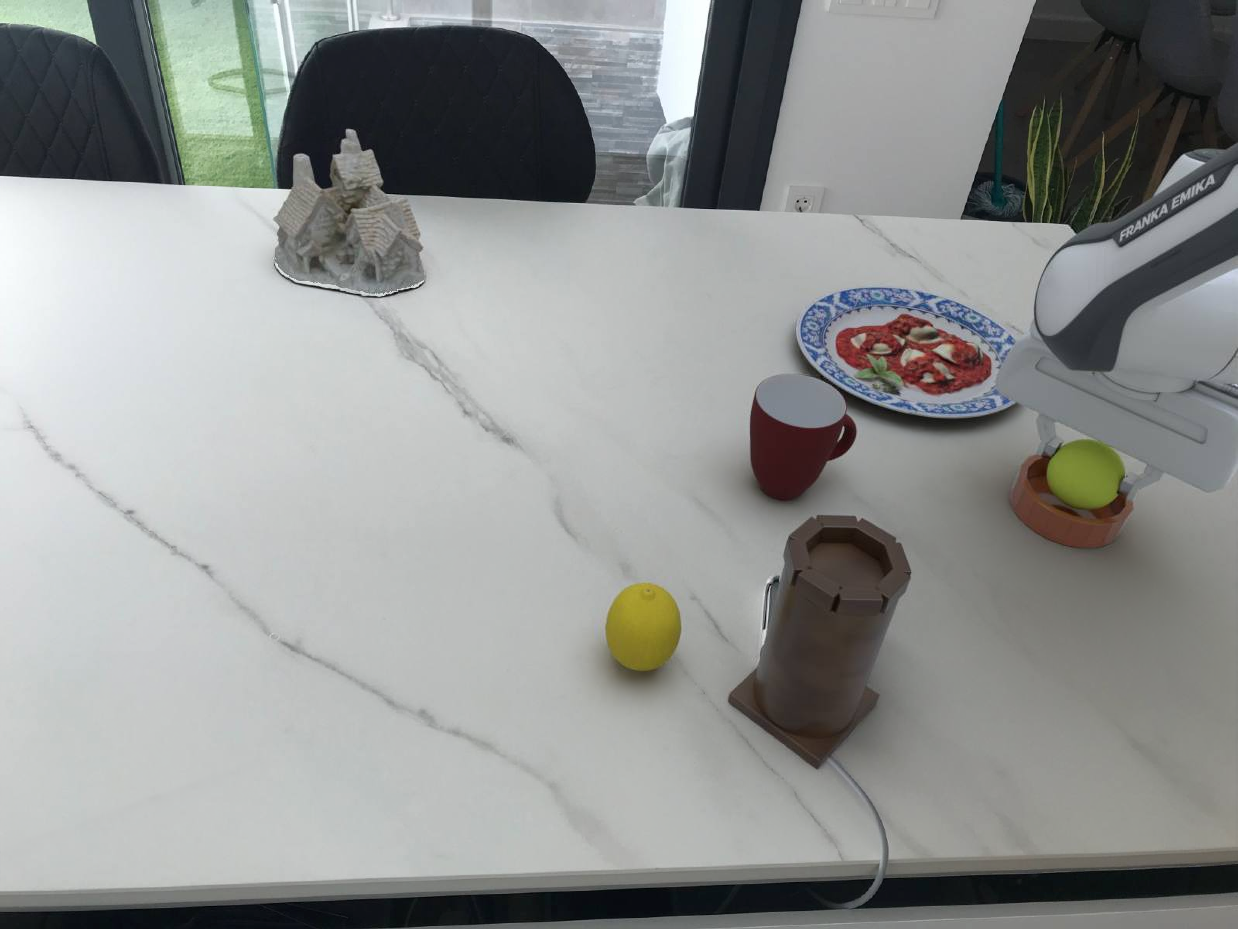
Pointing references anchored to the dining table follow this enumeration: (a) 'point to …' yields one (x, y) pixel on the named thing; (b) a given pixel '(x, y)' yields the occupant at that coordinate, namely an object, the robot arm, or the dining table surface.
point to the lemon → (643, 626)
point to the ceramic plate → (907, 350)
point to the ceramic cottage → (348, 227)
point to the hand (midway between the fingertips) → (1084, 474)
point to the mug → (796, 432)
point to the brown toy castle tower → (825, 634)
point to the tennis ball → (1085, 474)
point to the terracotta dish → (1063, 510)
